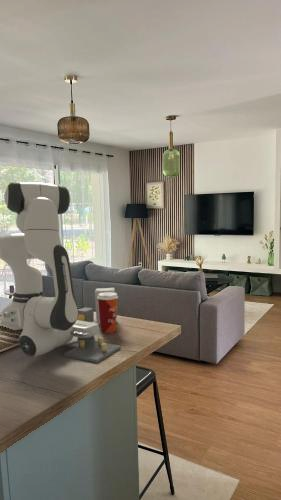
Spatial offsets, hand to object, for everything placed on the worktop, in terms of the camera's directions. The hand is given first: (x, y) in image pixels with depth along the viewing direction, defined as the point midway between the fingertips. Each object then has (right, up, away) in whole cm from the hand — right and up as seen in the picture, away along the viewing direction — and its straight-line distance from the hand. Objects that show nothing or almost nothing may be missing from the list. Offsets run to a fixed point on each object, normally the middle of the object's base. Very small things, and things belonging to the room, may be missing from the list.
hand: (85, 321), depth 137 cm
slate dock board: (+5, -8, -14) cm, 17 cm away
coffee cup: (+8, -6, +9) cm, 13 cm away
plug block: (0, -6, +1) cm, 7 cm away
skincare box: (+6, -5, +20) cm, 22 cm away
